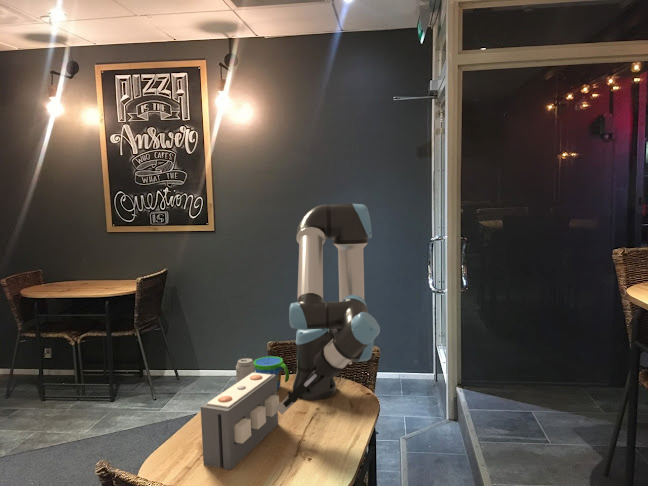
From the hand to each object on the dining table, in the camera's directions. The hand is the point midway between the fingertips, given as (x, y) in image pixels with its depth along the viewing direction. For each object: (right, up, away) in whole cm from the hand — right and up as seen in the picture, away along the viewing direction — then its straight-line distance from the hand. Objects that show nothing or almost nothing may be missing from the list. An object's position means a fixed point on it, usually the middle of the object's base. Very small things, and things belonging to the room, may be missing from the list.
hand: (279, 410), depth 137 cm
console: (-9, -8, -4) cm, 13 cm away
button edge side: (-8, -3, -14) cm, 16 cm away
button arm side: (-2, -1, +1) cm, 3 cm away
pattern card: (-10, +8, -5) cm, 13 cm away
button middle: (-5, -2, -6) cm, 8 cm away
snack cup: (-7, -4, +35) cm, 36 cm away
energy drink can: (-13, -6, +21) cm, 25 cm away
